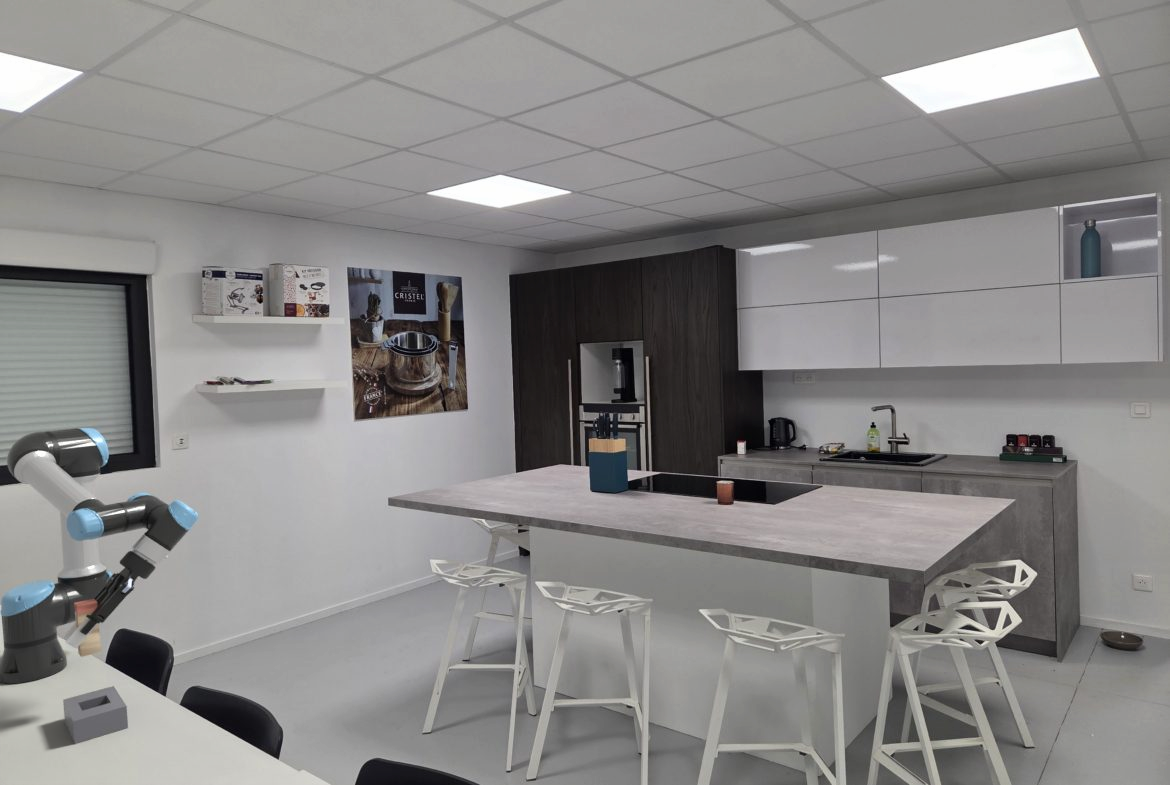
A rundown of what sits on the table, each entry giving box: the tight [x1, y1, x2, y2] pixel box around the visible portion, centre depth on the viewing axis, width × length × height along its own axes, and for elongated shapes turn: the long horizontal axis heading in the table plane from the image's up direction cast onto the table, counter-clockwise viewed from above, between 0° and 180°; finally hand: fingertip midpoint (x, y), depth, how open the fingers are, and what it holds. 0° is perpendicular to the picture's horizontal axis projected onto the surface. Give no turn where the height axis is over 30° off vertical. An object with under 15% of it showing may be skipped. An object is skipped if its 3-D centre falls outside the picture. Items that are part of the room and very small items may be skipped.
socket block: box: [63, 685, 129, 745], centre depth 172 cm, size 15×10×5 cm, turn 41°
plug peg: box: [74, 599, 102, 658], centre depth 179 cm, size 4×4×12 cm
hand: (69, 642), depth 176 cm, fingers closed on plug peg, 4 cm apart
